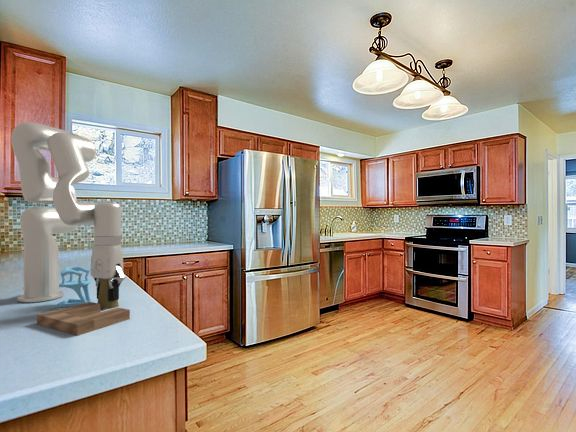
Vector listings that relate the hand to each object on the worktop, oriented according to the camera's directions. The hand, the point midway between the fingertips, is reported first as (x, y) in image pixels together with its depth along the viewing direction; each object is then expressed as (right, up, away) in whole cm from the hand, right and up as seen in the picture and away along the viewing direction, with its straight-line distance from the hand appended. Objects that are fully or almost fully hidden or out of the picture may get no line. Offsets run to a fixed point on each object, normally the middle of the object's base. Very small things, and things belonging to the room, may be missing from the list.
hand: (107, 298), depth 102 cm
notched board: (+2, -2, -14) cm, 15 cm away
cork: (0, -3, 0) cm, 3 cm away
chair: (-12, -3, +3) cm, 13 cm away
